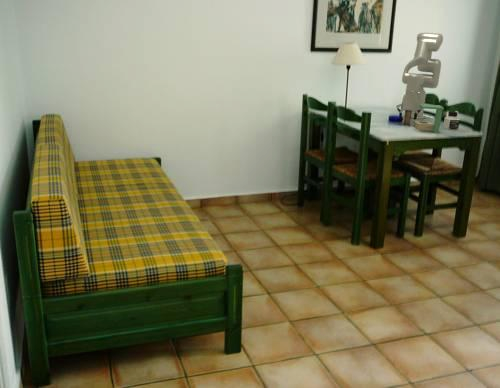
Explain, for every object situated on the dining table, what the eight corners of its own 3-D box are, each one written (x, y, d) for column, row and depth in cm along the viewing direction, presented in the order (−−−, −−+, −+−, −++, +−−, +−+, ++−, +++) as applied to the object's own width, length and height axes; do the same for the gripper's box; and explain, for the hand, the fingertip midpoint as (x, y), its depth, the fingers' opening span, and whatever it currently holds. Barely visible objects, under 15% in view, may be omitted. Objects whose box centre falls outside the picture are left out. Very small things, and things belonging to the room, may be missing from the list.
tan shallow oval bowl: (413, 125, 354) (414, 120, 353) (428, 126, 354) (429, 121, 353) (418, 130, 341) (419, 124, 340) (433, 130, 341) (434, 125, 340)
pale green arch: (415, 128, 345) (419, 104, 339) (435, 130, 344) (439, 105, 339) (419, 131, 336) (423, 106, 330) (439, 133, 335) (443, 107, 330)
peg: (403, 124, 359) (405, 109, 355) (408, 124, 358) (411, 109, 355) (404, 125, 355) (406, 110, 352) (410, 125, 355) (412, 110, 351)
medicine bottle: (448, 130, 347) (451, 111, 343) (442, 127, 353) (445, 110, 350) (458, 130, 348) (461, 112, 344) (452, 127, 355) (455, 110, 351)
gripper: (422, 93, 353) (418, 118, 358) (397, 91, 354) (393, 117, 359) (425, 95, 346) (421, 120, 351) (399, 93, 346) (395, 119, 352)
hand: (407, 118), depth 355 cm, fingers open, 9 cm apart
